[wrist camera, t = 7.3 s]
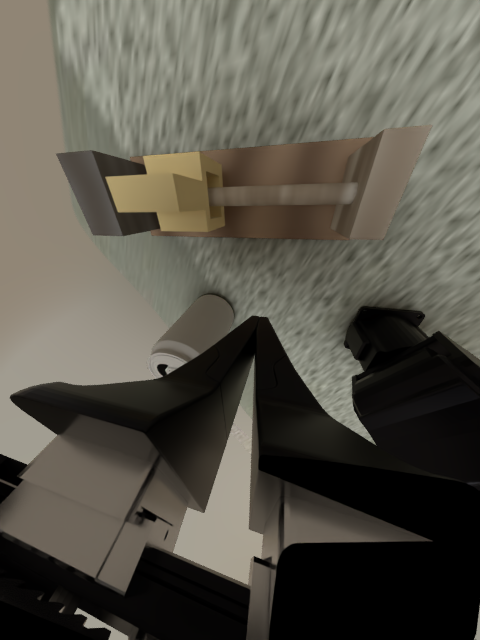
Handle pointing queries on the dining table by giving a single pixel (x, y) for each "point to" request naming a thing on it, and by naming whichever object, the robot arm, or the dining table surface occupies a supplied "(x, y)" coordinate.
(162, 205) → the marker sleeve
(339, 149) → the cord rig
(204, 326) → the beverage can
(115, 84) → the dining table surface
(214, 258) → the dining table surface
